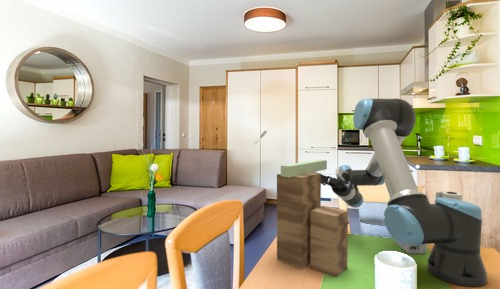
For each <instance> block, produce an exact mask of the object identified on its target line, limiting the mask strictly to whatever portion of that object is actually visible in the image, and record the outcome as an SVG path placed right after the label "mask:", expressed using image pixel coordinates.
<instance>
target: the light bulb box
mask: <svg viewBox="0 0 500 289" xmlns="http://www.w3.org/2000/svg"><path fill="white" fill-rule="evenodd" d="M394 243H395V244H396V245H397V246H399V247H400V248H401V249H403V251H404V252H406V253H407V254H416V255H417V254H419V255H420V254H425V255H426V254H427V244H419V245H412V244H401V243H399V242H398V241H397V240H395V239H394Z"/></svg>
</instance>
